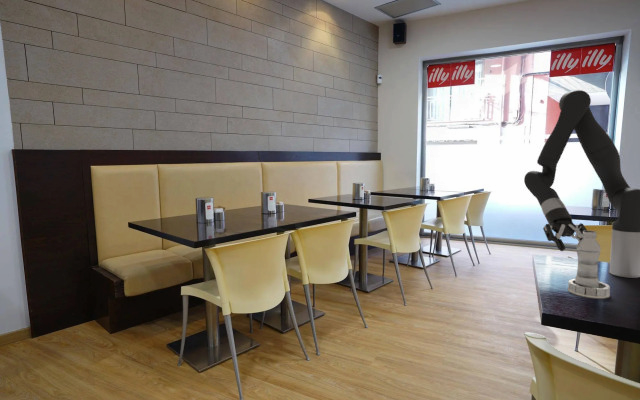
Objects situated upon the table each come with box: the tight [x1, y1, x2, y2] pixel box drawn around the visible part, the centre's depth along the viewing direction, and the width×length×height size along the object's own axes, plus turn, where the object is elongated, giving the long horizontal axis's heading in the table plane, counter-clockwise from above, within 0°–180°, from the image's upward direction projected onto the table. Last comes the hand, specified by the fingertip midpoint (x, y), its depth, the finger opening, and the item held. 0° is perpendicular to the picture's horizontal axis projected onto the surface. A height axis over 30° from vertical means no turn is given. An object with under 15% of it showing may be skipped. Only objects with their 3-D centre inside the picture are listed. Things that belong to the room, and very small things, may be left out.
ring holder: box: [567, 278, 611, 300], centre depth 125 cm, size 11×11×3 cm
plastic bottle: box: [574, 230, 602, 288], centre depth 125 cm, size 6×7×20 cm
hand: (575, 249), depth 131 cm, fingers open, 8 cm apart
